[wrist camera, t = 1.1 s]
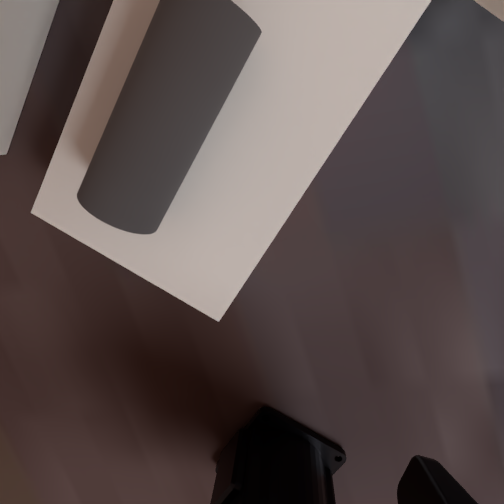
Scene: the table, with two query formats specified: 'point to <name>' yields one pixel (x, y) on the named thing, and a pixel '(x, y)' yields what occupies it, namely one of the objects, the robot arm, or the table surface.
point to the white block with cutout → (212, 131)
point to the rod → (166, 110)
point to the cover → (493, 7)
